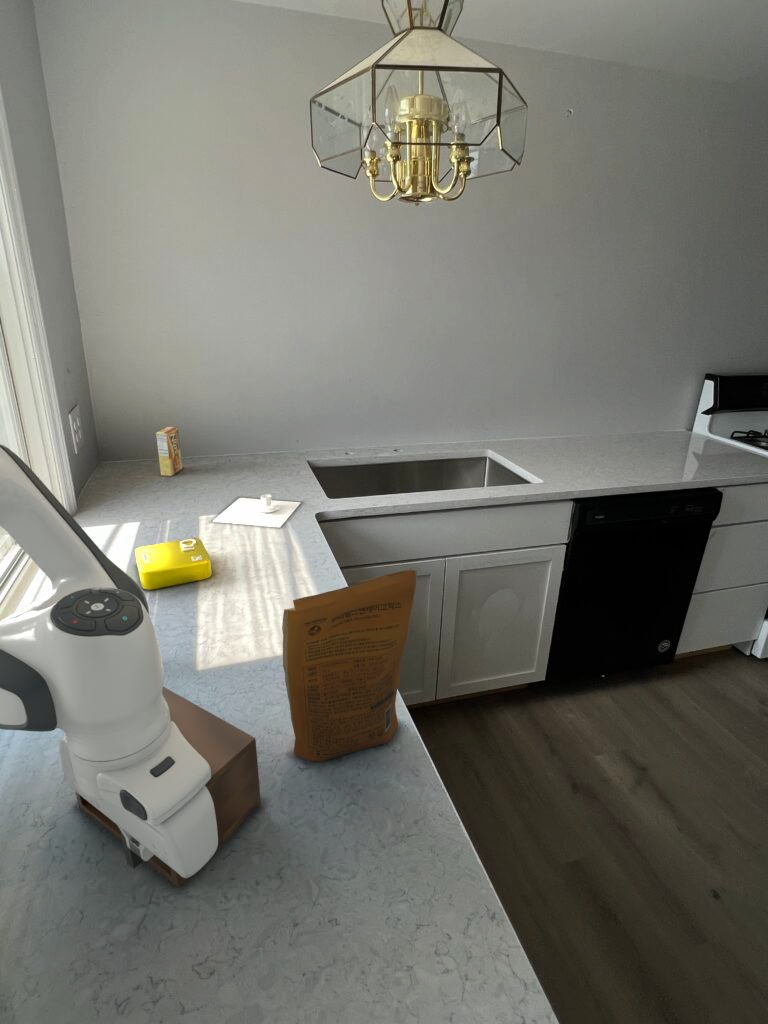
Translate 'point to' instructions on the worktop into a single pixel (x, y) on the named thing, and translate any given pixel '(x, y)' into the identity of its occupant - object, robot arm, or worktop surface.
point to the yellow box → (172, 563)
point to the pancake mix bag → (346, 664)
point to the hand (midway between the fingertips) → (143, 849)
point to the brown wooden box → (229, 772)
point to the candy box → (169, 451)
